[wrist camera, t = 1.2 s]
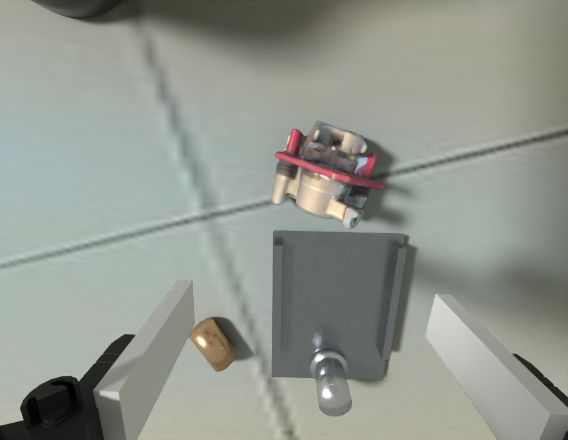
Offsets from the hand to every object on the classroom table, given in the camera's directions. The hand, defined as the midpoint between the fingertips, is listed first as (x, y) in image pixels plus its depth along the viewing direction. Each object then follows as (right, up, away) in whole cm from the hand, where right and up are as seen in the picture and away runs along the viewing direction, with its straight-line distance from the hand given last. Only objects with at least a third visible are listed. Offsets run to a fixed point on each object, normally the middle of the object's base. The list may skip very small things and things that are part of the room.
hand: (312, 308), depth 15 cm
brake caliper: (+3, +11, +17) cm, 21 cm away
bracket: (+5, -7, +22) cm, 24 cm away
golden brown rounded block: (-11, -12, +24) cm, 29 cm away
